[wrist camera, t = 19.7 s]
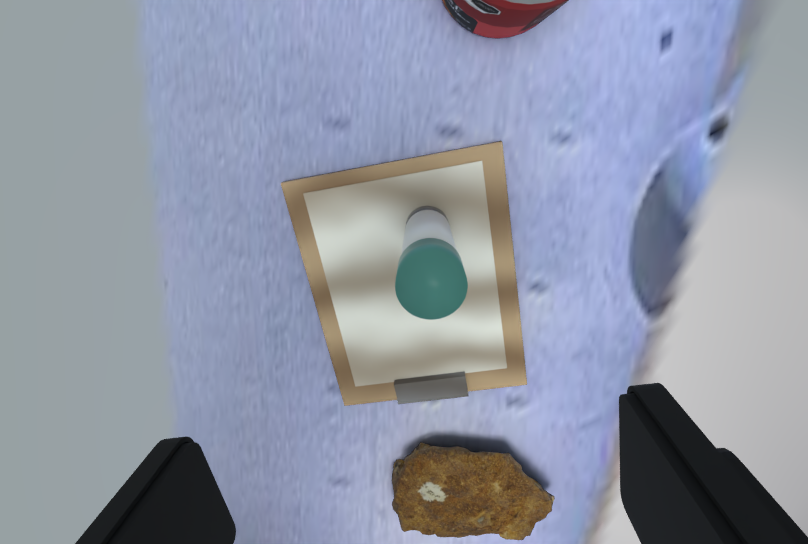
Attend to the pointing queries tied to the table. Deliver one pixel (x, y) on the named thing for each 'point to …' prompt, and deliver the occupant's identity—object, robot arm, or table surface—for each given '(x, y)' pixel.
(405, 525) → the decorative rock
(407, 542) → the table surface
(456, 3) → the canned food
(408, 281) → the marker
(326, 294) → the clipboard
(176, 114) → the table surface
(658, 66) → the table surface
